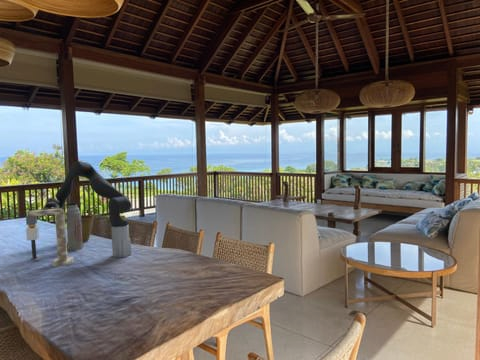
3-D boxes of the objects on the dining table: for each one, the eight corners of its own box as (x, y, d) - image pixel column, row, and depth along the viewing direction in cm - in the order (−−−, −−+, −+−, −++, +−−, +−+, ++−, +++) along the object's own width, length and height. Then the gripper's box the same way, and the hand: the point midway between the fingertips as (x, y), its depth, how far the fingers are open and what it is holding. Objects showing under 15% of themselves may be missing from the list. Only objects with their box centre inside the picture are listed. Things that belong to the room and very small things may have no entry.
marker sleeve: (39, 237, 175) (38, 226, 174) (37, 239, 171) (36, 228, 170) (28, 238, 173) (27, 227, 173) (26, 240, 169) (26, 229, 168)
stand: (73, 258, 184) (69, 207, 181) (71, 263, 176) (68, 209, 173) (34, 263, 177) (30, 209, 174) (31, 269, 169) (26, 212, 166)
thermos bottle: (85, 247, 204) (82, 202, 201) (72, 251, 198) (69, 204, 195) (78, 245, 209) (75, 201, 206) (65, 248, 202) (62, 203, 200)
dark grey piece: (40, 259, 176) (36, 214, 173) (38, 262, 172) (34, 216, 170) (31, 260, 174) (27, 215, 172) (29, 263, 171) (25, 217, 168)
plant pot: (85, 244, 211) (83, 219, 210) (64, 243, 214) (63, 219, 213) (99, 238, 226) (98, 214, 224) (80, 237, 229) (78, 214, 227)
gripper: (36, 203, 195) (31, 207, 180) (64, 201, 200) (61, 204, 186) (38, 216, 196) (32, 221, 181) (65, 213, 201) (62, 218, 186)
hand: (47, 212), depth 183 cm, fingers open, 8 cm apart
